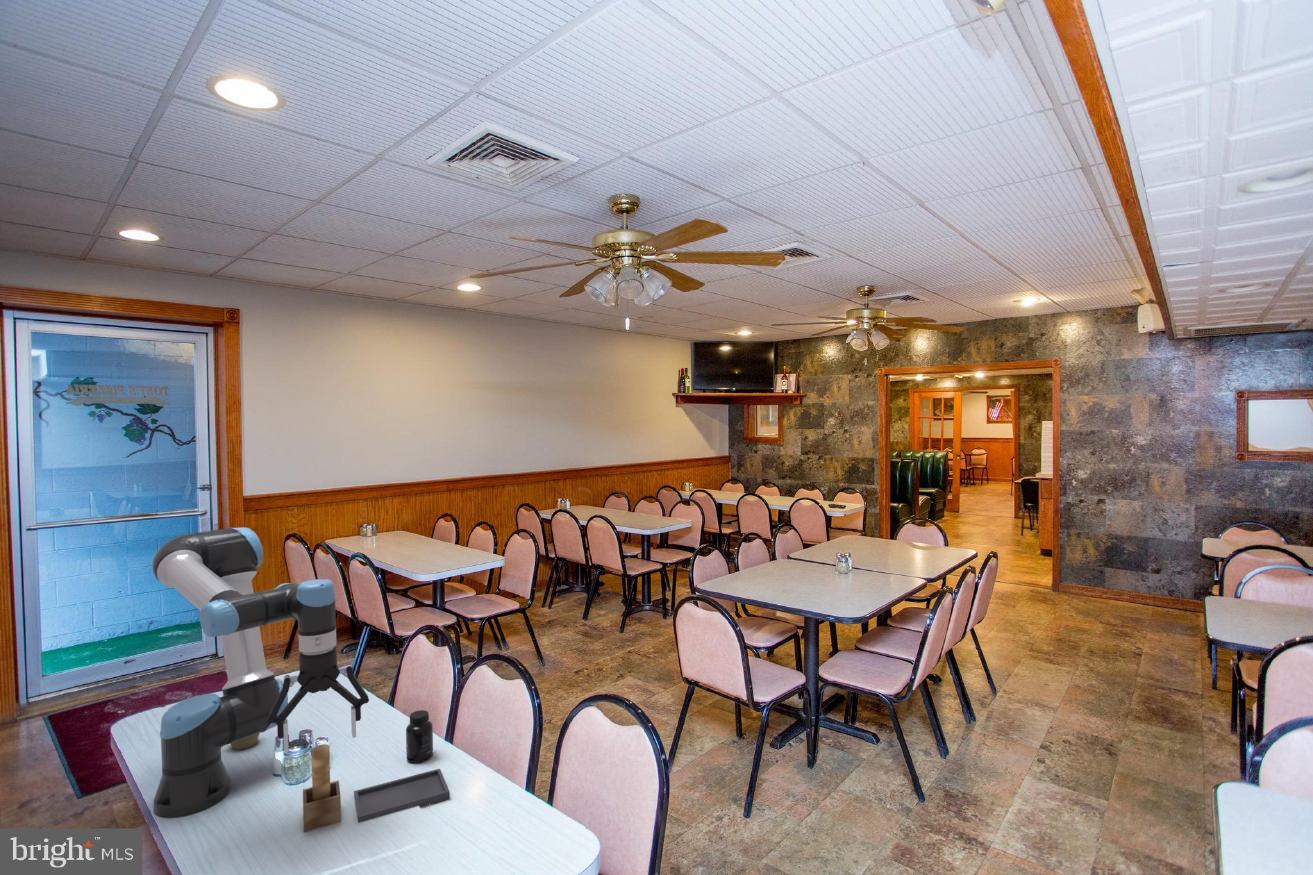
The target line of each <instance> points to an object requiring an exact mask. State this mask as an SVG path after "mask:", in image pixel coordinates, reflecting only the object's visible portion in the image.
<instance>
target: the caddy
mask: <svg viewBox="0 0 1313 875" xmlns="http://www.w3.org/2000/svg"><path fill="white" fill-rule="evenodd" d="M340 788H341V787H340V781H339V780H334V781H330V795H331V797H329V798H325V799H321V800H318V801H314V802H313V792H312V786H311V787H308V788H303V789H302V818H303V833H306V832H310V831H313V830H316V829H317V830H318V829H321V828H324V827H327V826H330V825H334V824H337V823H341V822H342V803H341V801H342V800H341V799H342V798H341V796H342V795H341V789H340Z"/></svg>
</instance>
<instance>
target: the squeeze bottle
mask: <svg viewBox="0 0 1313 875" xmlns="http://www.w3.org/2000/svg"><path fill="white" fill-rule="evenodd" d="M260 734H261V733H258V734H255V735H252V736H249V737H247V738H244V739H241V740H238V741H236V742H233V743H230V746H231V748H232V749H234V750H244V749H247V748H251V747H253V746H255V744H257V743H258V740H259V736H260Z"/></svg>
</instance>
